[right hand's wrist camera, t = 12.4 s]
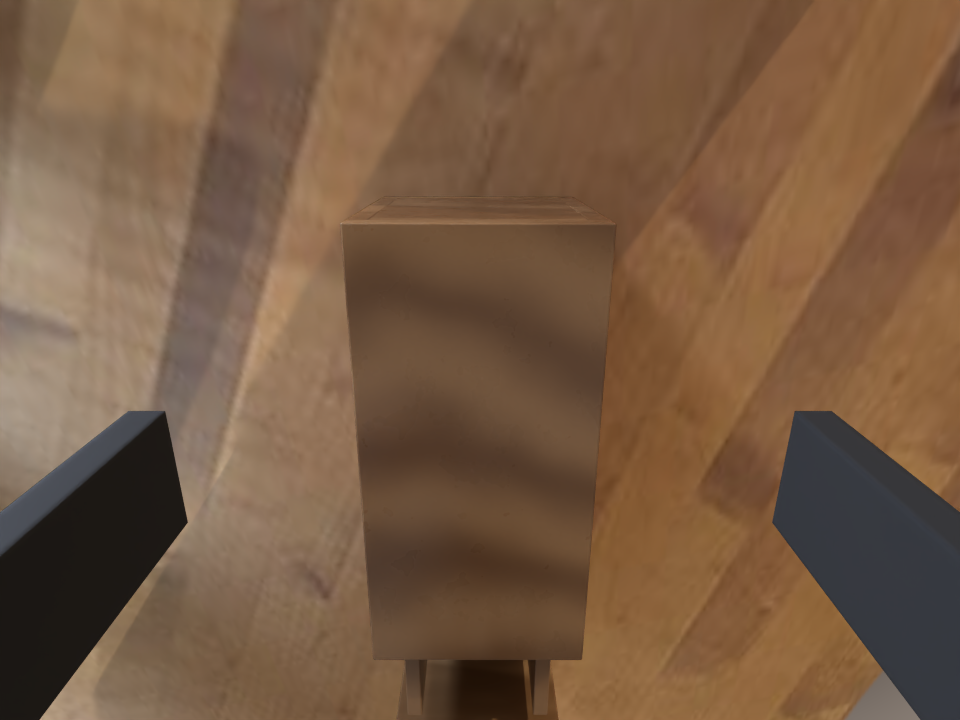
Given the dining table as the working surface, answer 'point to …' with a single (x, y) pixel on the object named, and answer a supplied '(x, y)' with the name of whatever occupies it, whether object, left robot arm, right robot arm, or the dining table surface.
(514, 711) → the drawer
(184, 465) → the dining table surface
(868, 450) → the right robot arm
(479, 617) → the cabinet
